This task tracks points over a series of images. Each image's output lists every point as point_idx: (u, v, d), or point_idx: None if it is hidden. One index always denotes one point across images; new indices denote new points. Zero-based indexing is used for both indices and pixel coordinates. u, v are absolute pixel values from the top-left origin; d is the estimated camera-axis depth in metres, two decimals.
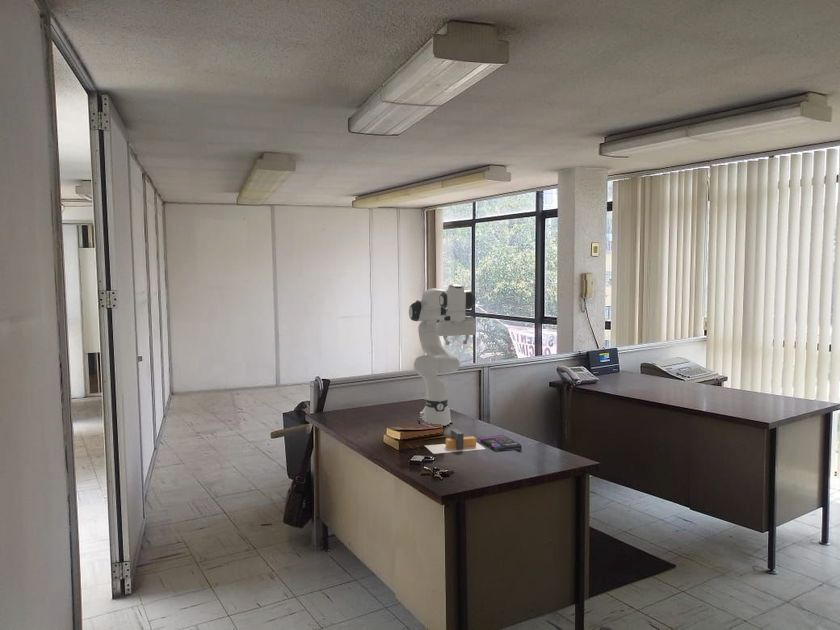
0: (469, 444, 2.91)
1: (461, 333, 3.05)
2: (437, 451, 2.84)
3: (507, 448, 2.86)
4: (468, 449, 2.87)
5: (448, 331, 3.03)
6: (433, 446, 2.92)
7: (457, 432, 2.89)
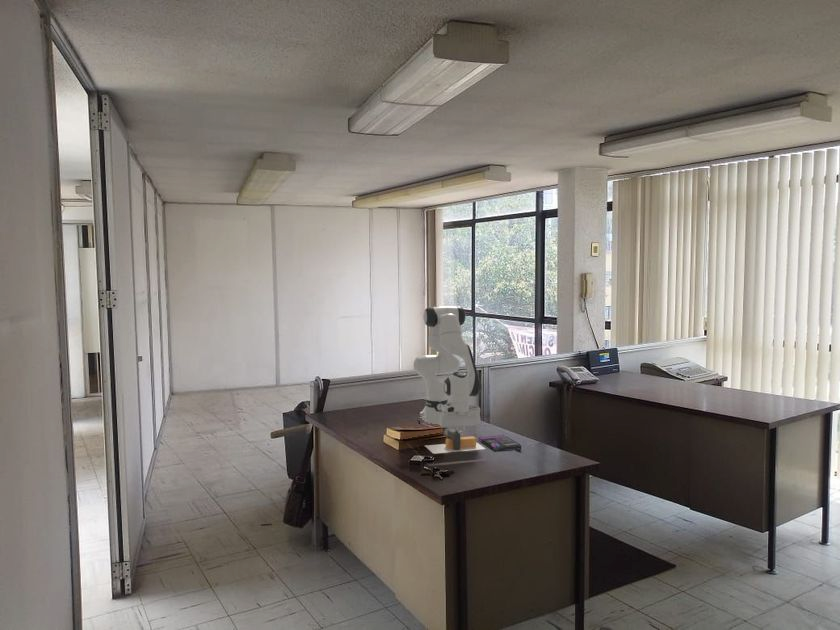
0: (469, 444, 2.91)
1: (464, 423, 2.90)
2: (437, 451, 2.84)
3: (506, 448, 2.86)
4: (468, 449, 2.87)
5: (452, 422, 2.88)
6: (433, 446, 2.92)
7: (454, 432, 2.88)
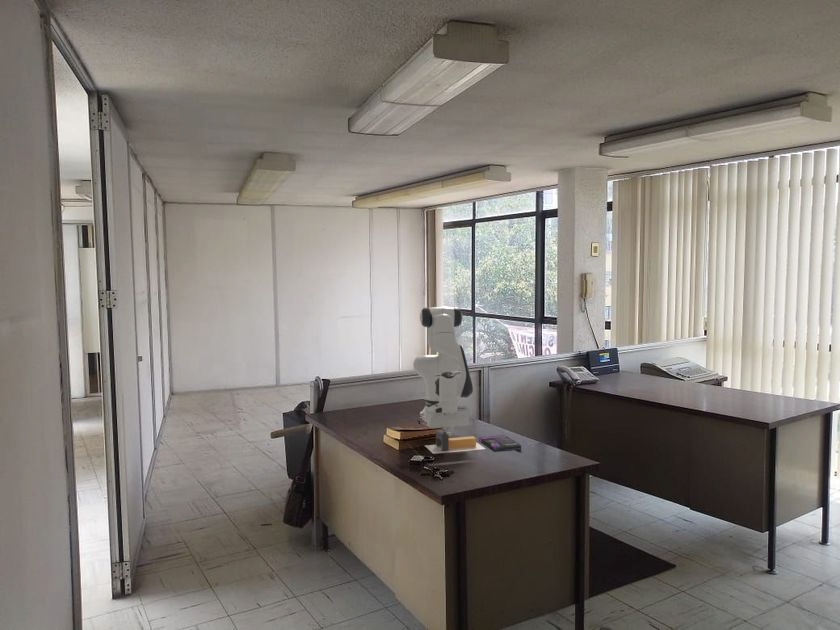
0: (469, 444, 2.91)
1: (453, 424, 2.88)
2: (437, 451, 2.84)
3: (506, 448, 2.86)
4: (468, 449, 2.87)
5: (440, 423, 2.86)
6: (433, 446, 2.92)
7: (442, 433, 2.87)
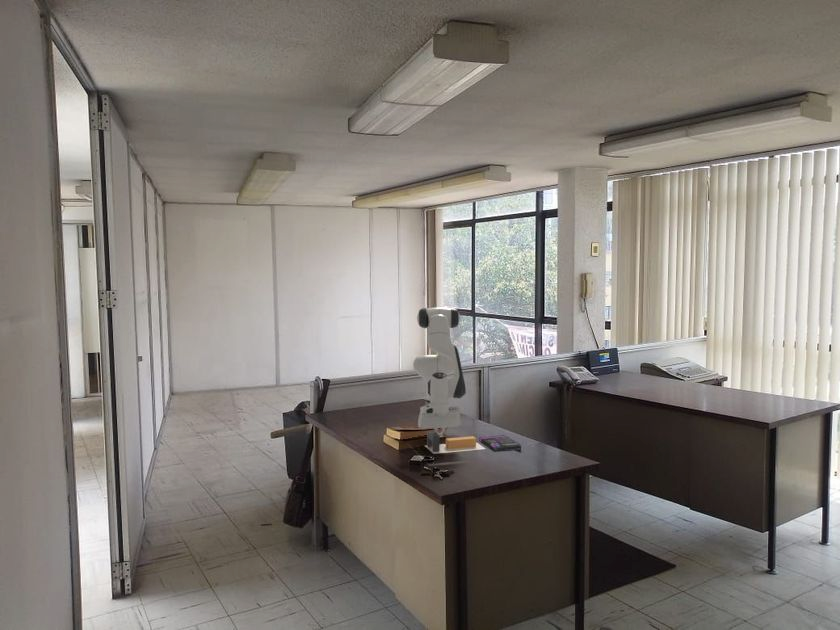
0: (469, 444, 2.91)
1: (444, 425, 2.87)
2: (437, 451, 2.84)
3: (506, 448, 2.86)
4: (468, 449, 2.87)
5: (431, 424, 2.85)
6: None
7: (433, 434, 2.85)
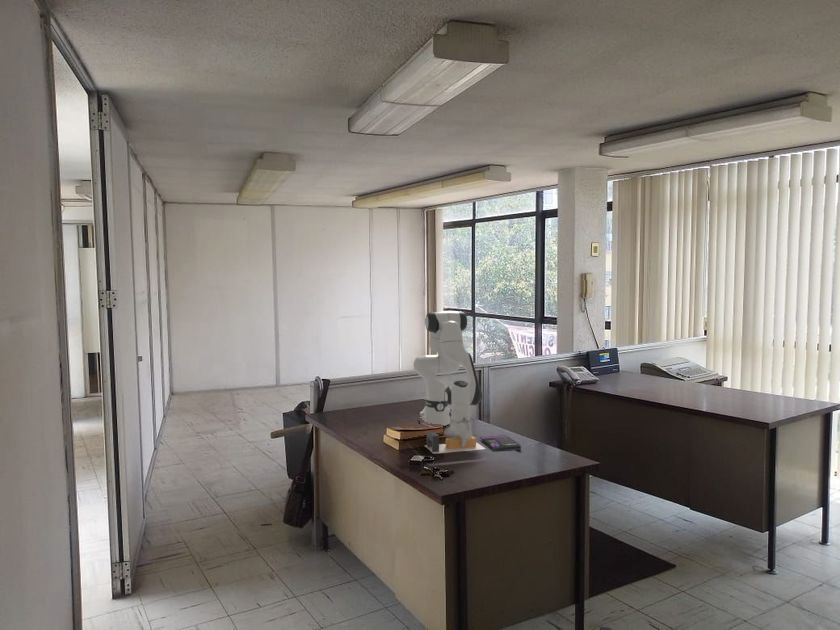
0: (469, 444, 2.91)
1: (458, 433, 2.89)
2: (437, 451, 2.84)
3: (506, 448, 2.86)
4: (468, 449, 2.87)
5: (453, 428, 2.96)
6: None
7: (433, 434, 2.85)
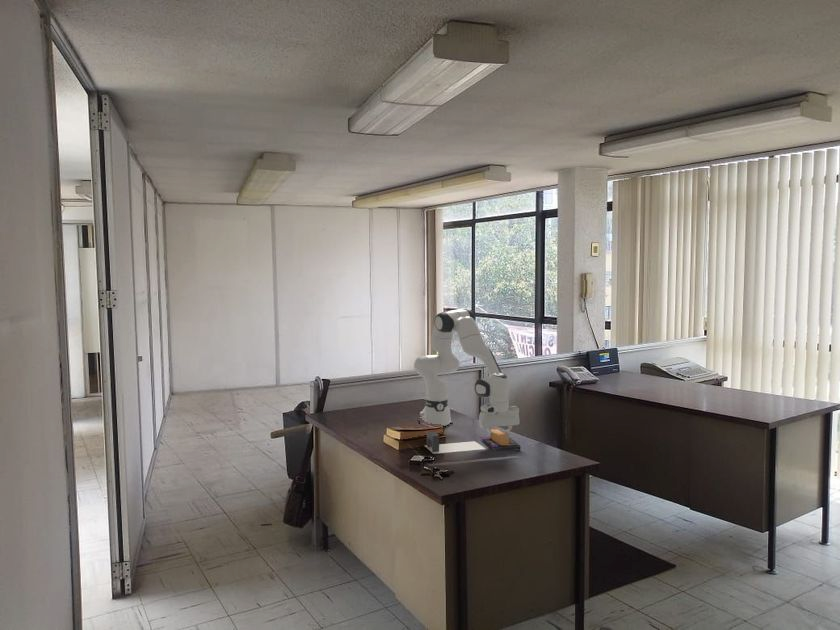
0: None
1: (504, 423, 2.94)
2: (437, 451, 2.84)
3: (505, 448, 2.86)
4: (468, 449, 2.87)
5: (491, 422, 2.92)
6: None
7: (433, 434, 2.85)
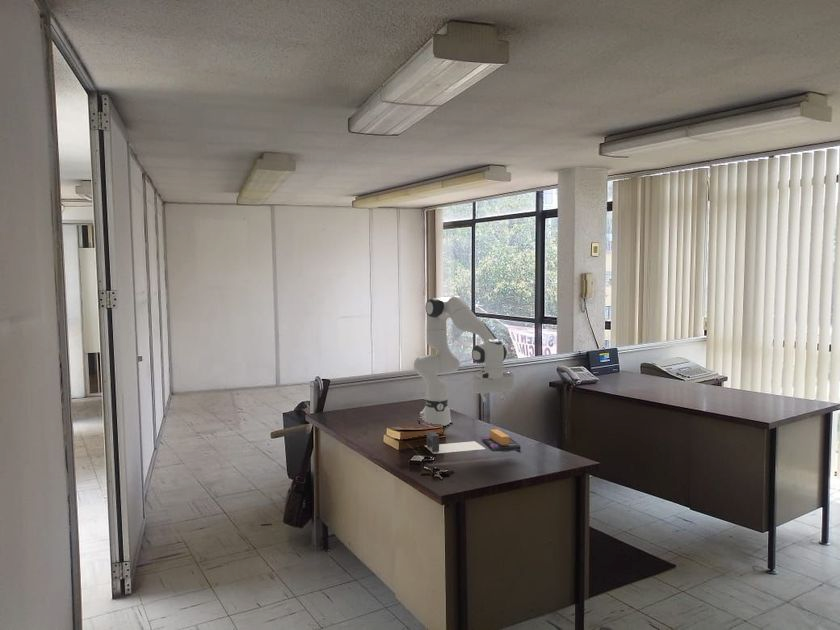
0: None
1: (498, 389, 2.96)
2: (437, 451, 2.84)
3: (505, 448, 2.86)
4: (468, 449, 2.87)
5: (486, 388, 2.94)
6: None
7: (433, 434, 2.85)
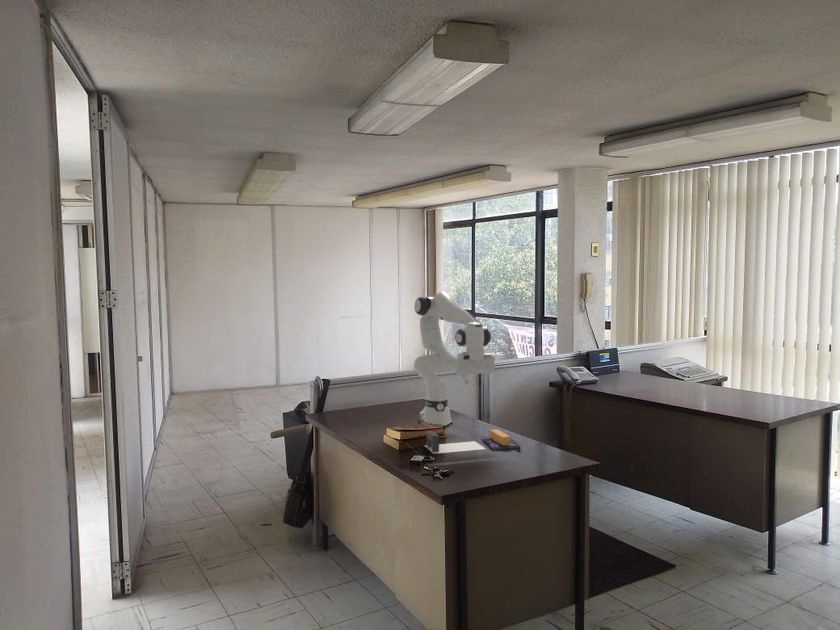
0: None
1: (479, 371, 3.04)
2: (437, 451, 2.84)
3: (505, 449, 2.86)
4: (468, 449, 2.87)
5: (467, 370, 3.02)
6: None
7: (433, 434, 2.85)
